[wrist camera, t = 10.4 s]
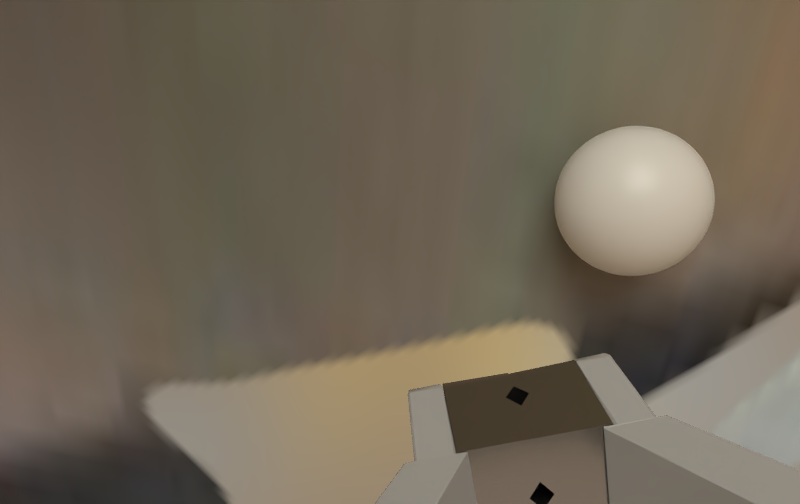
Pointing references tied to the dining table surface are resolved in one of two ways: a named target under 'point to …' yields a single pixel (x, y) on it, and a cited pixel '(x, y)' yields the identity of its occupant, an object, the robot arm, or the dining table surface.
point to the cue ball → (634, 200)
